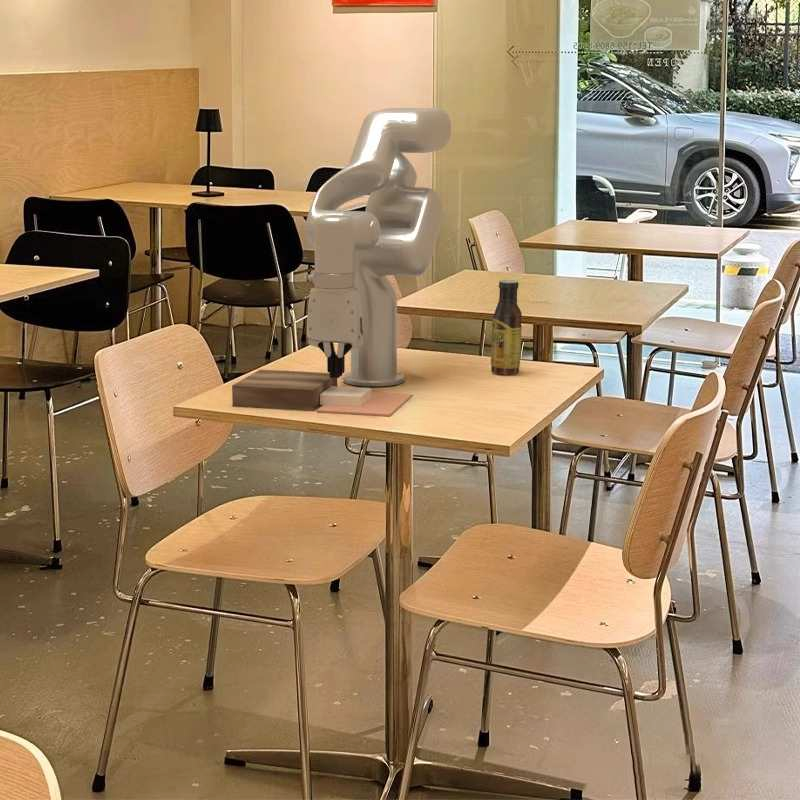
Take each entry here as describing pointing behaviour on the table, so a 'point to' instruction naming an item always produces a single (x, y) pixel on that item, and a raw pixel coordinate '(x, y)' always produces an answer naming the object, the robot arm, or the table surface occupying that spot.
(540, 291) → the table surface
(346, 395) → the cream block
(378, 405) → the mat
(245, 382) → the deck
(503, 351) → the sauce bottle
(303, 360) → the table surface
